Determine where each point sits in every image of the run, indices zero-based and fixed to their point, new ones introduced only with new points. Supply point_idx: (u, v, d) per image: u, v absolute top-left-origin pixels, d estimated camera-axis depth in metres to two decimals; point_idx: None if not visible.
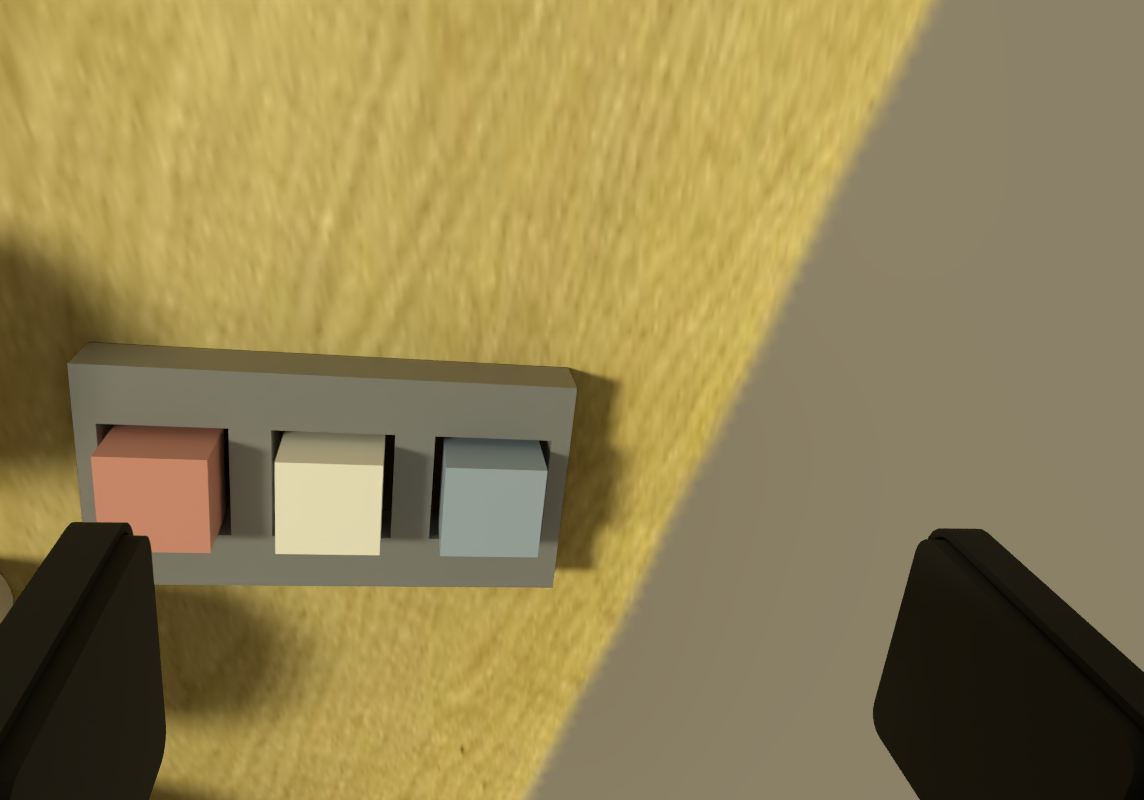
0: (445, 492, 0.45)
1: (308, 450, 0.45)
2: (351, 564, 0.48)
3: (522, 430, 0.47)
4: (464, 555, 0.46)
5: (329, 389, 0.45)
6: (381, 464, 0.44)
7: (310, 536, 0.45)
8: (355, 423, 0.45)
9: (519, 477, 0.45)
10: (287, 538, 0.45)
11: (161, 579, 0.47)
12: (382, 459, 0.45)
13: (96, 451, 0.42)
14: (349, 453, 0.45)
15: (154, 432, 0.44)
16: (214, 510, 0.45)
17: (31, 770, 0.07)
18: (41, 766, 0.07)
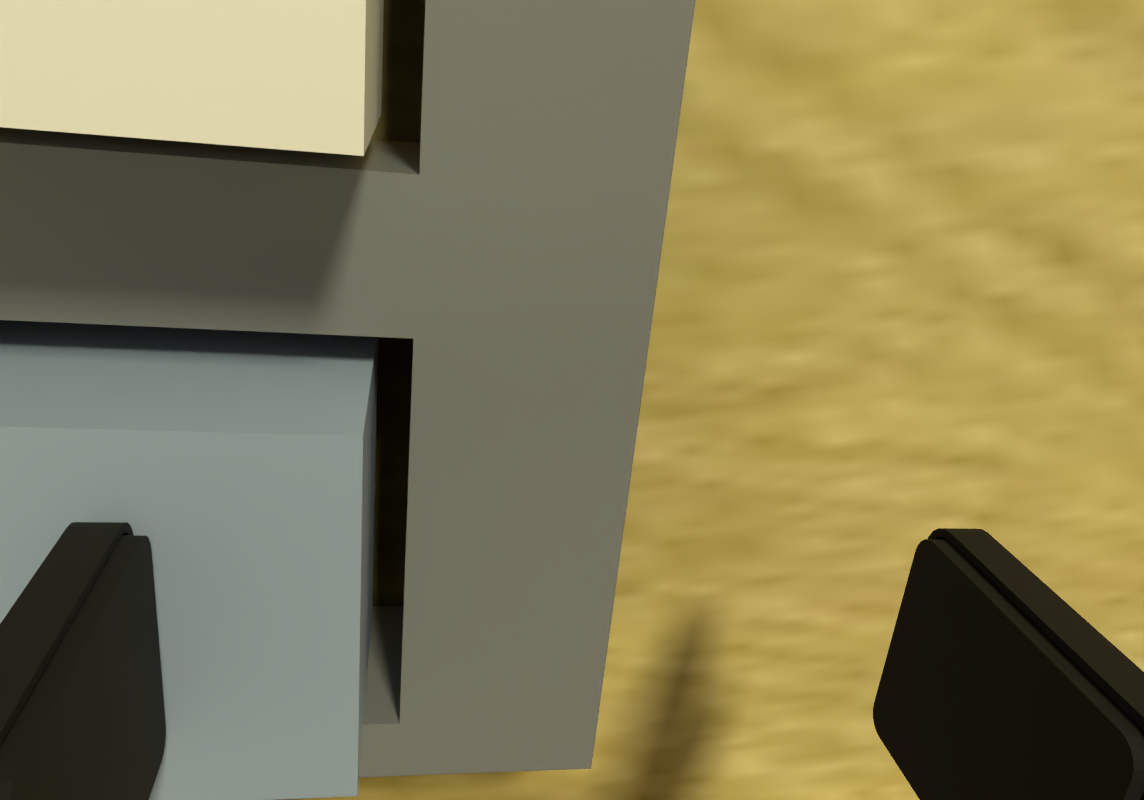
0: (228, 436, 0.10)
1: None
2: None
3: (439, 634, 0.13)
4: None
5: None
6: (363, 144, 0.08)
7: None
8: None
9: (324, 711, 0.11)
10: None
11: None
12: (366, 140, 0.09)
13: None
14: None
15: None
16: None
17: (31, 770, 0.07)
18: (41, 766, 0.07)
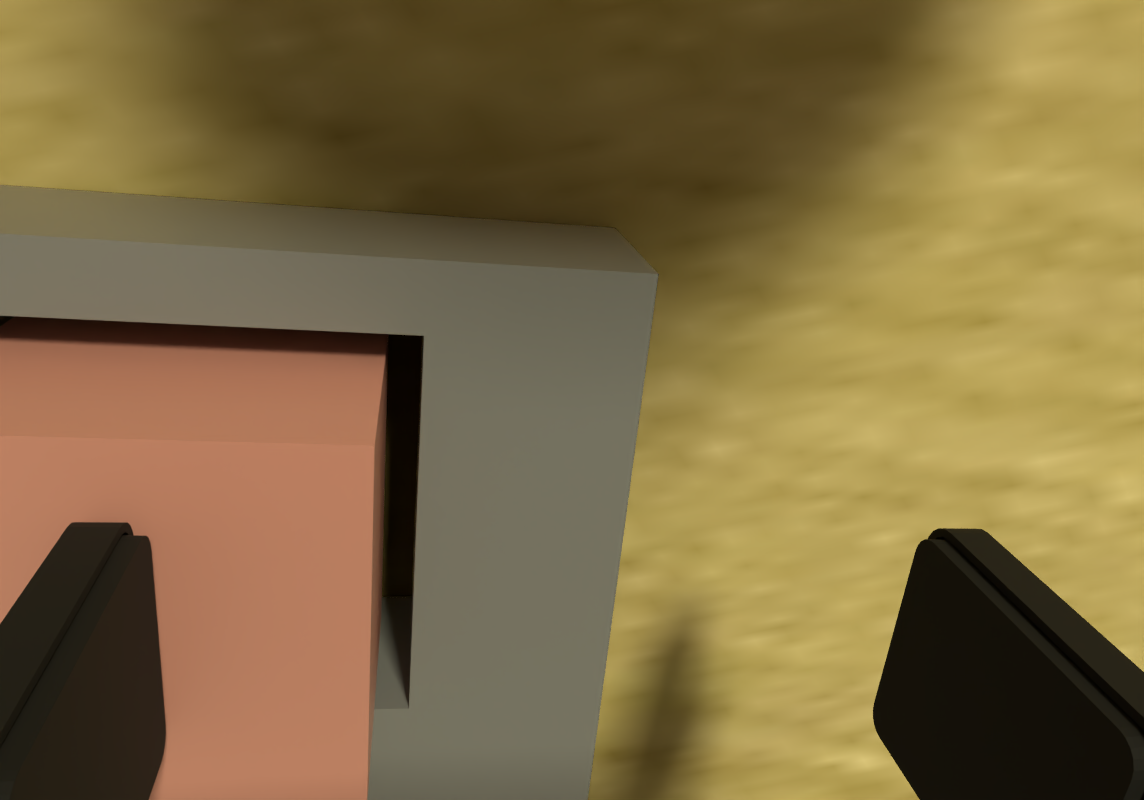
0: None
1: None
2: None
3: None
4: None
5: None
6: None
7: None
8: None
9: None
10: None
11: None
12: None
13: (376, 431, 0.10)
14: None
15: (382, 491, 0.13)
16: None
17: (31, 770, 0.07)
18: (41, 766, 0.07)
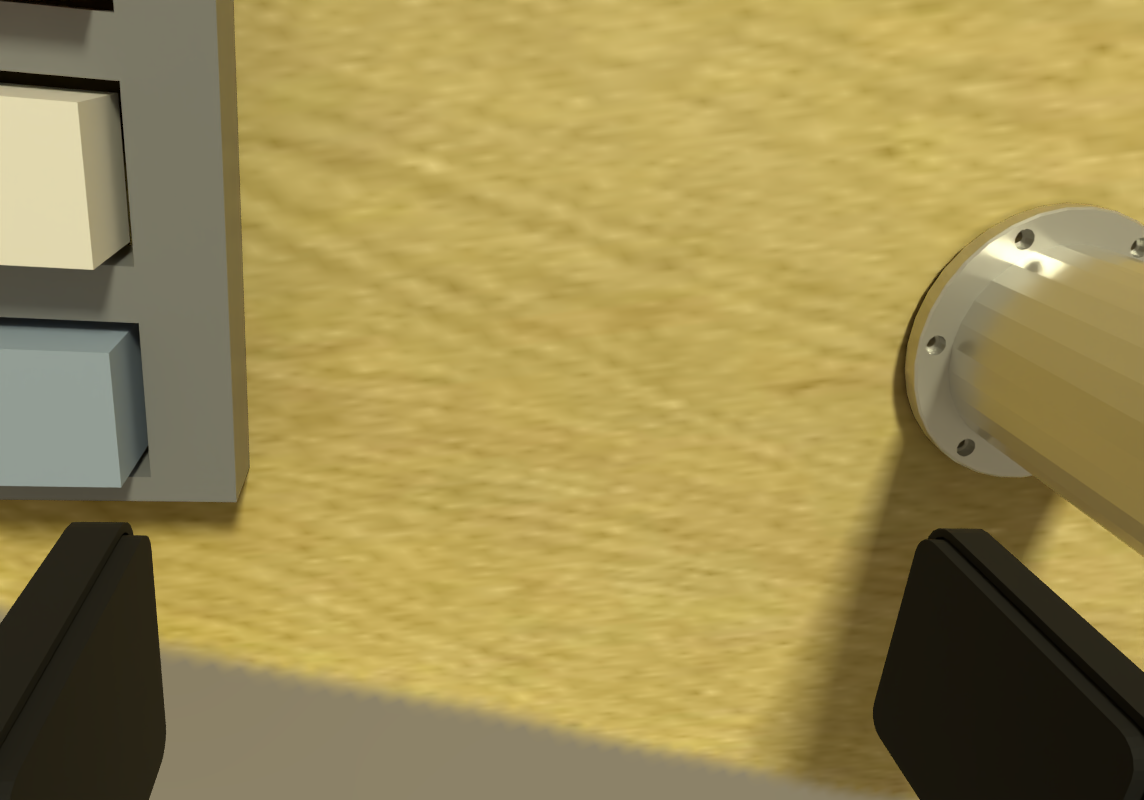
0: (64, 352, 0.30)
1: (97, 145, 0.29)
2: None
3: (163, 438, 0.34)
4: None
5: (200, 175, 0.30)
6: (94, 266, 0.29)
7: None
8: (147, 210, 0.30)
9: (105, 452, 0.32)
10: None
11: None
12: (99, 262, 0.29)
13: None
14: (100, 209, 0.29)
15: None
16: None
17: (31, 770, 0.07)
18: (41, 766, 0.07)
